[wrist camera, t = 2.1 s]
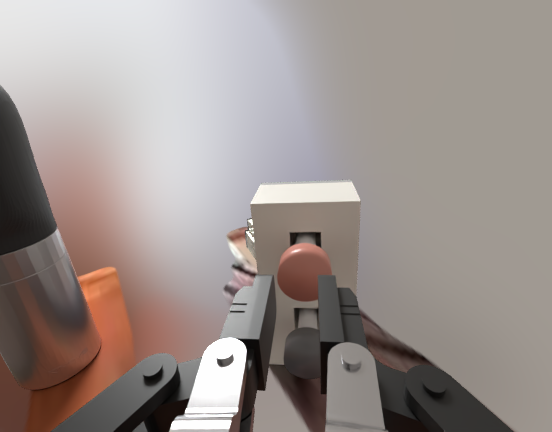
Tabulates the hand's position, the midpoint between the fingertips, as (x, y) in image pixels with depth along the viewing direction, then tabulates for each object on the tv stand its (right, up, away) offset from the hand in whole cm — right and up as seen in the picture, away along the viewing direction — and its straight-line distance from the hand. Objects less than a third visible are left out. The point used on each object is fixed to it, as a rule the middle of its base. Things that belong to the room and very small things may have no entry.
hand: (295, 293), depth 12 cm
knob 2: (+3, -11, +19) cm, 22 cm away
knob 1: (+2, -2, +16) cm, 16 cm away
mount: (+3, -13, +25) cm, 28 cm away
